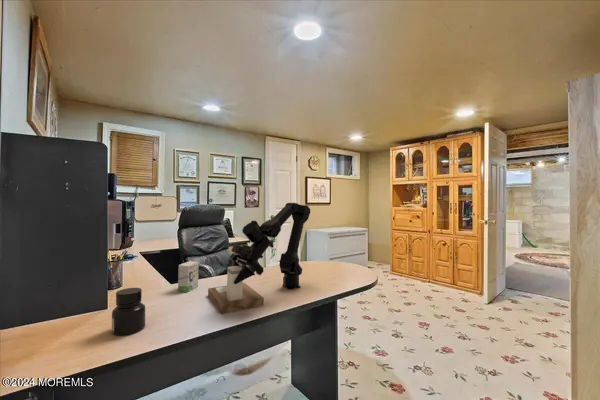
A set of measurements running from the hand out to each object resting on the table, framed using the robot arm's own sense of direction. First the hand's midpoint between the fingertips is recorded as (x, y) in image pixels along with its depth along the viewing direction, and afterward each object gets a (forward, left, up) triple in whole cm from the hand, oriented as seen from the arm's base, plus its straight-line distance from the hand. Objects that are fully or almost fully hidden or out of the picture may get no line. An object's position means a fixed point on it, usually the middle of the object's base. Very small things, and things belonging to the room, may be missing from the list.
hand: (231, 281), depth 106 cm
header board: (-3, -7, -10) cm, 12 cm away
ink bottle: (+33, +2, -10) cm, 34 cm away
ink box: (+11, -31, -10) cm, 34 cm away
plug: (-1, -1, -9) cm, 9 cm away
